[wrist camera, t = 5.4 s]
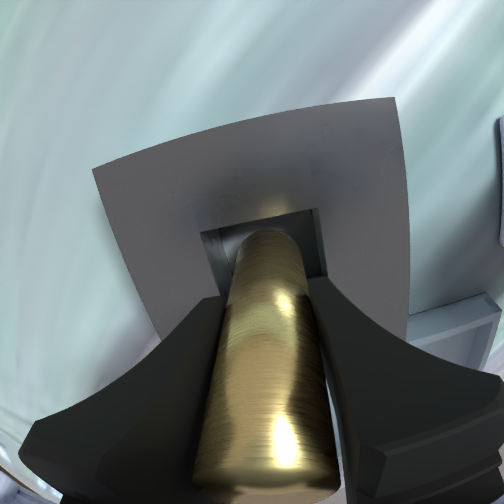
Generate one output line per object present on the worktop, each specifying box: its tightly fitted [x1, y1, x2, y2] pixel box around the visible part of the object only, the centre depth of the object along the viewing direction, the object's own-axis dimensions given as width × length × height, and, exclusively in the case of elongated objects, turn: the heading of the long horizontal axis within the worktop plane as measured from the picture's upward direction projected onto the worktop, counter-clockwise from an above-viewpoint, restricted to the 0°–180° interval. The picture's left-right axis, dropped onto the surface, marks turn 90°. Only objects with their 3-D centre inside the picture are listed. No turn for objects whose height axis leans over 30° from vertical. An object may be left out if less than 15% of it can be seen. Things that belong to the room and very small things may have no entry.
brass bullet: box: [192, 230, 341, 504], centre depth 9 cm, size 3×3×10 cm
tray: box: [326, 292, 502, 460], centre depth 18 cm, size 13×13×2 cm
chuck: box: [92, 97, 410, 342], centre depth 14 cm, size 12×12×3 cm
